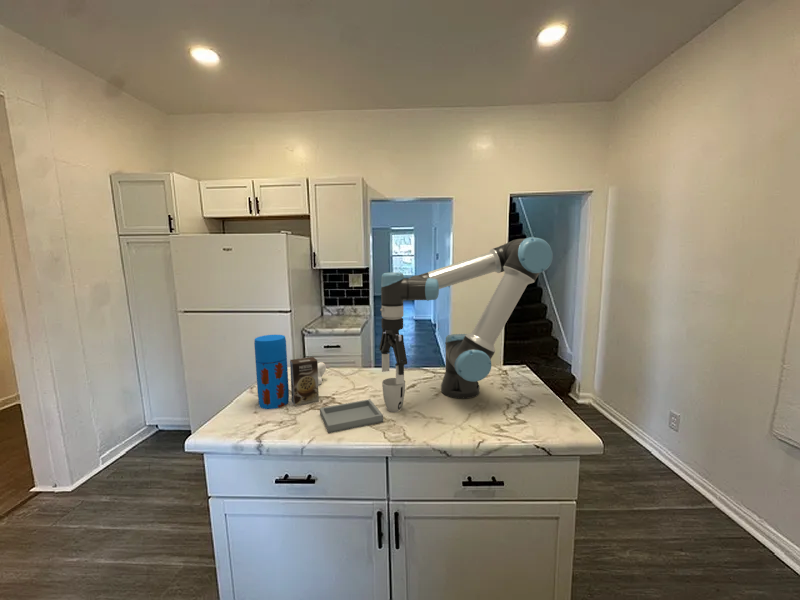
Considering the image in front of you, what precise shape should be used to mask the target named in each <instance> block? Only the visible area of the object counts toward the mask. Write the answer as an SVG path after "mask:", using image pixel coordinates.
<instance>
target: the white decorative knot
mask: <svg viewBox="0 0 800 600" xmlns="http://www.w3.org/2000/svg"><path fill="white" fill-rule="evenodd" d="M317 363H318V386H320V385H321V384H322V382H323V379H322V377H323V375H324V374H325V372H326V369H327V366H326V363H324V362H322V361H321V362H317Z"/></svg>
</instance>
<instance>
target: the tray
mask: <svg viewBox="0 0 800 600" xmlns="http://www.w3.org/2000/svg"><path fill="white" fill-rule="evenodd" d="M319 414H320V418H321V420H322V422H323V424H324V427H325V429H326V432H327V434H332V433H338V432H342V431H347V430H352V429H357V428H362V427H366V426H371V425H372V426H373V425H377V424H381V423H384V414H383V413H382V412H381V411H380V409H379V408H378V407H377V406H376V405H375V403H374V402H373V401H372V400H371V398H368V399H364V400H363V399H362V400H359V401H358V400H356V401H352V402H347V403H340V404H336V405H329V406H323V407H320V408H319Z"/></svg>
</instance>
